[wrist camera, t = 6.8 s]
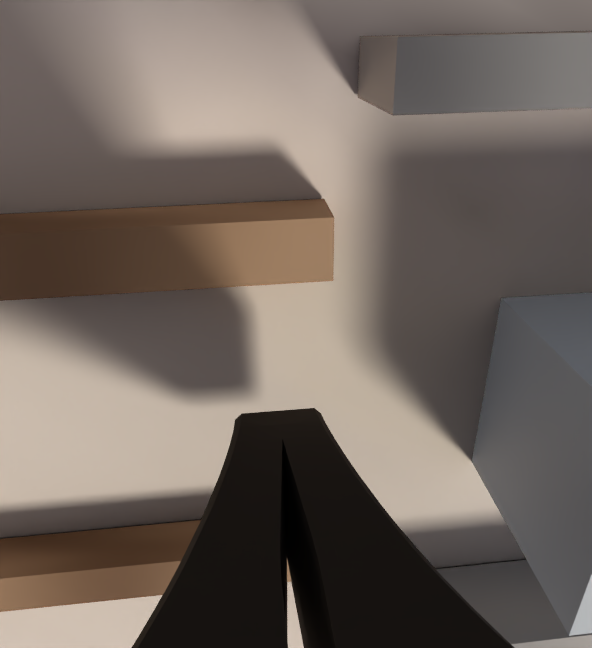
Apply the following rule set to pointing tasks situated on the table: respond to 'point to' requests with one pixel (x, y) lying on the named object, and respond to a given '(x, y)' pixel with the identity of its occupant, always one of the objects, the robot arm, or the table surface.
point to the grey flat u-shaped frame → (486, 96)
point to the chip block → (543, 443)
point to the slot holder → (130, 277)
